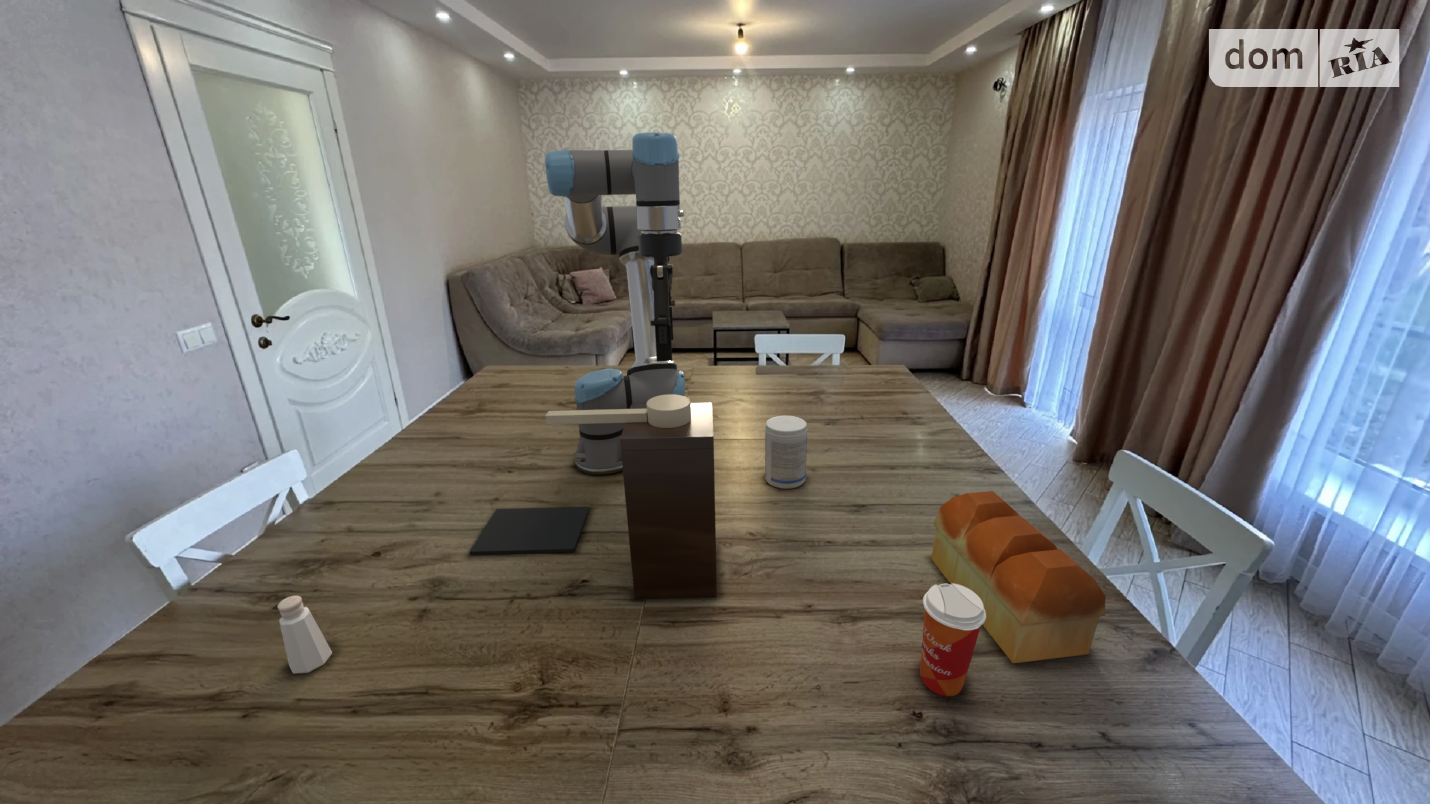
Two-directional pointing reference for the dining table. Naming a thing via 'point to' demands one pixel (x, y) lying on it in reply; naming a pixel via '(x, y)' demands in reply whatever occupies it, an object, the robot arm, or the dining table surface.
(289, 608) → the pepper shaker
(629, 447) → the tall dark wooden box
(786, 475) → the supplement tub
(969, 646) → the paper cup
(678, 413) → the scoop
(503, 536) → the mat
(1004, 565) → the bread
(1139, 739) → the dining table surface
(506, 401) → the dining table surface
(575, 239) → the robot arm
